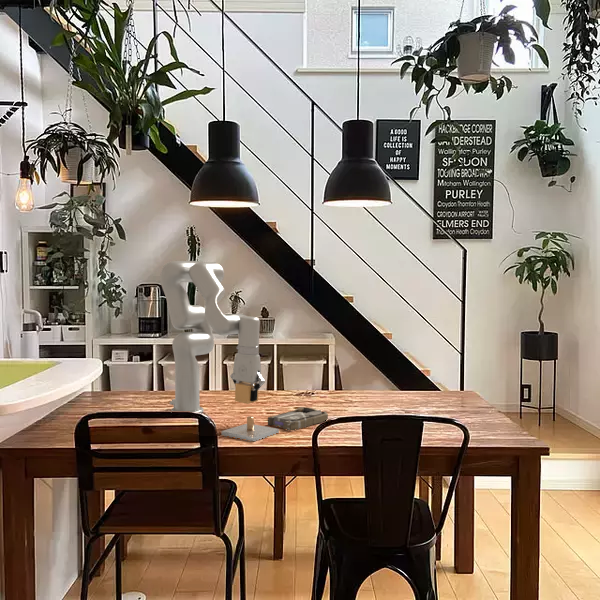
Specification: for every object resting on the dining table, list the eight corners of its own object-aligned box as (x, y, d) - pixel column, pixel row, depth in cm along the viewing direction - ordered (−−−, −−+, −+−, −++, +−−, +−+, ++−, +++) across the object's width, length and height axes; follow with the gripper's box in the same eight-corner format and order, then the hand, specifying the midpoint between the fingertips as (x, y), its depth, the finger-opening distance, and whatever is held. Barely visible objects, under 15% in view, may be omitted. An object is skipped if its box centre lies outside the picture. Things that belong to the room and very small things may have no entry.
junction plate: (221, 435, 228) (221, 418, 227) (247, 427, 239) (247, 410, 239) (253, 441, 220) (253, 423, 219) (278, 433, 231) (278, 416, 231)
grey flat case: (260, 415, 243) (291, 422, 234) (303, 404, 262) (333, 410, 252) (260, 425, 244) (291, 432, 234) (303, 414, 262) (333, 420, 253)
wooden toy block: (234, 401, 242) (235, 383, 242) (245, 398, 247) (246, 381, 246) (247, 403, 239) (248, 386, 238) (257, 401, 244) (258, 383, 243)
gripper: (223, 348, 243) (221, 397, 245) (260, 354, 233) (258, 405, 235) (237, 346, 249) (235, 393, 251) (273, 352, 239) (271, 401, 241)
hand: (246, 398), depth 243 cm, fingers closed on wooden toy block, 5 cm apart
